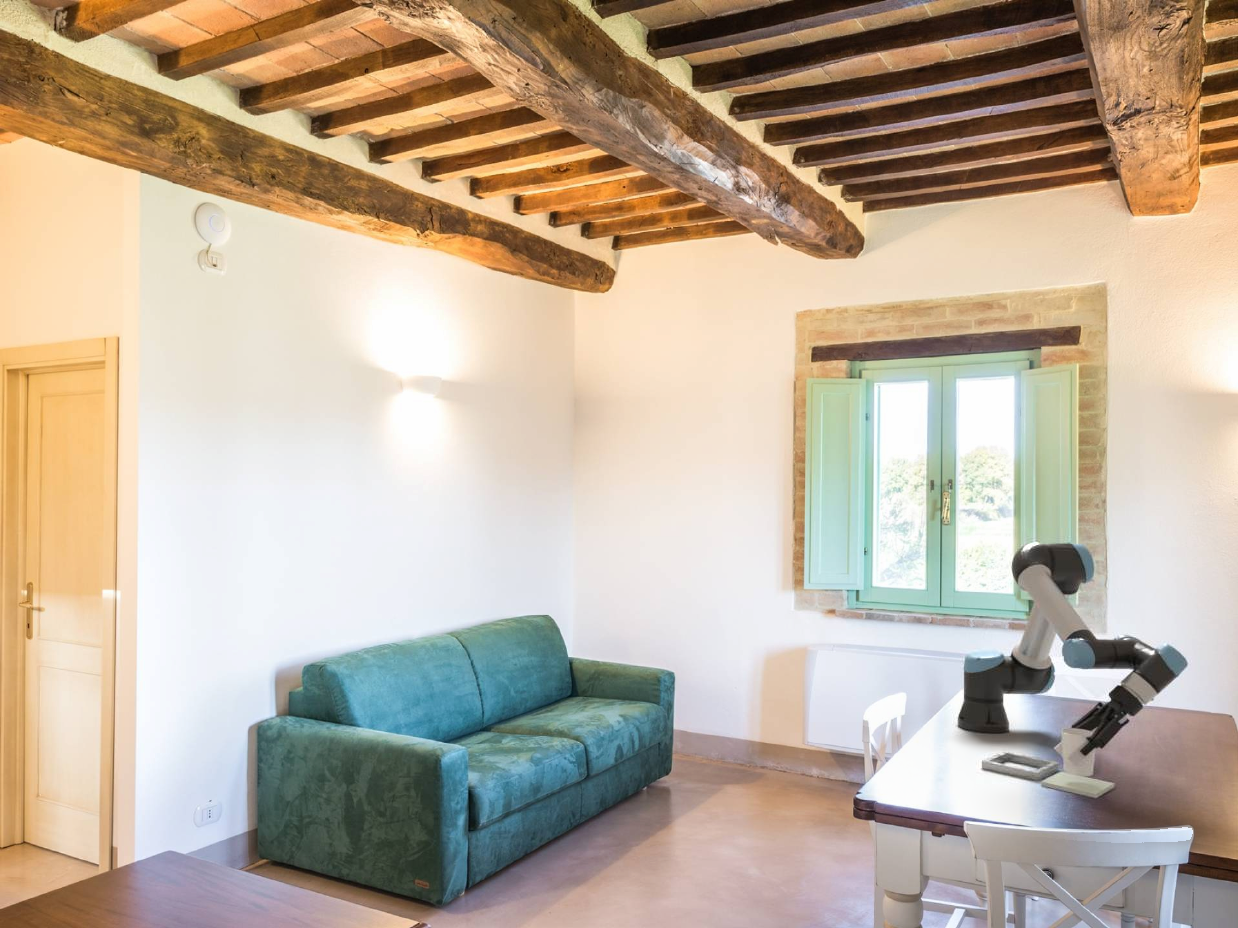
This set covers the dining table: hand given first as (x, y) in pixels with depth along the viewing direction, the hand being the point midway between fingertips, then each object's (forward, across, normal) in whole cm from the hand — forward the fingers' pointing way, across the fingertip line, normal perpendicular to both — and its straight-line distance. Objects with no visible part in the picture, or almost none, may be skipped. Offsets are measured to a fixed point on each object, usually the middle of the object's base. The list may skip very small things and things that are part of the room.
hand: (1064, 756), depth 239 cm
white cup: (0, 0, -5) cm, 5 cm away
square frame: (+9, +14, 0) cm, 17 cm away
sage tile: (+3, 0, -7) cm, 8 cm away
